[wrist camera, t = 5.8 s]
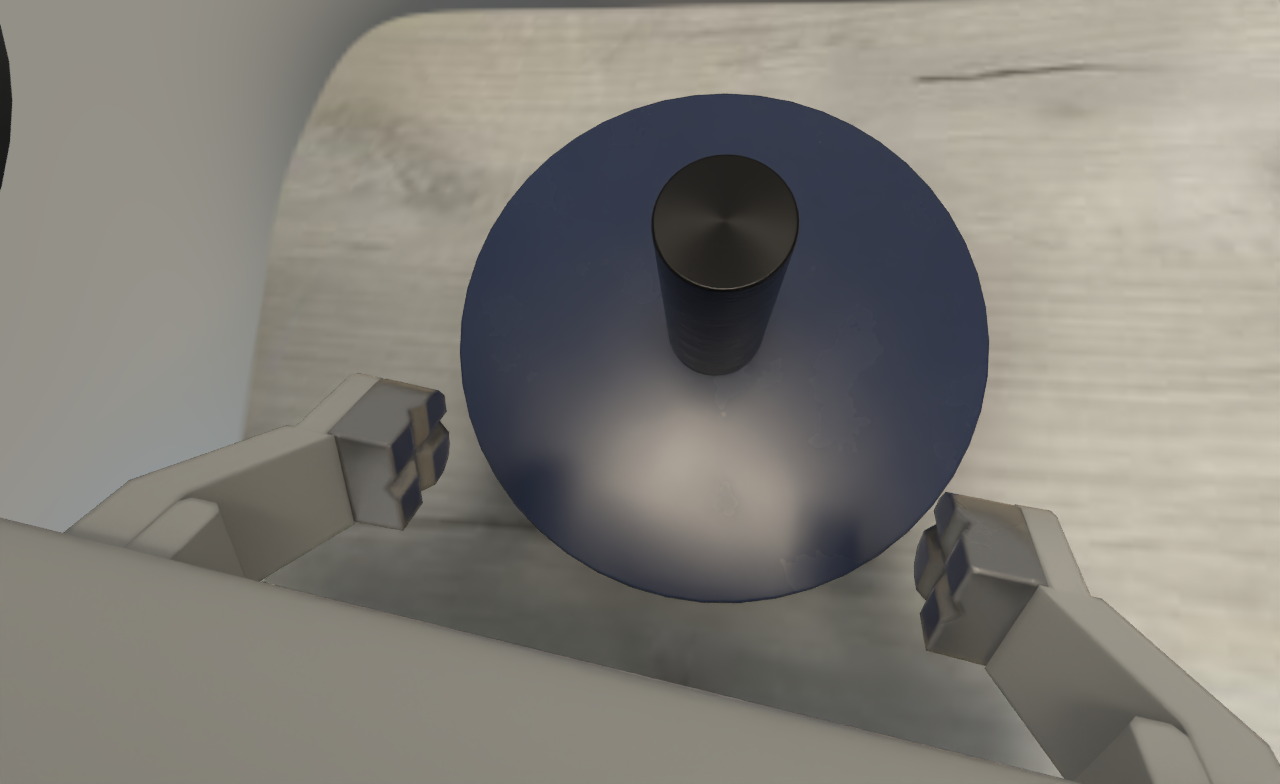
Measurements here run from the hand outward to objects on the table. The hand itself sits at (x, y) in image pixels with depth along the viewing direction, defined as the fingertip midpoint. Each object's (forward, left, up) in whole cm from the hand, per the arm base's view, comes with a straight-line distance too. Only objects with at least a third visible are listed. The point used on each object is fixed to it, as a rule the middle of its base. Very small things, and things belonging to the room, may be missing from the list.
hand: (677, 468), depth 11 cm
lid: (+1, +4, -8) cm, 9 cm away
